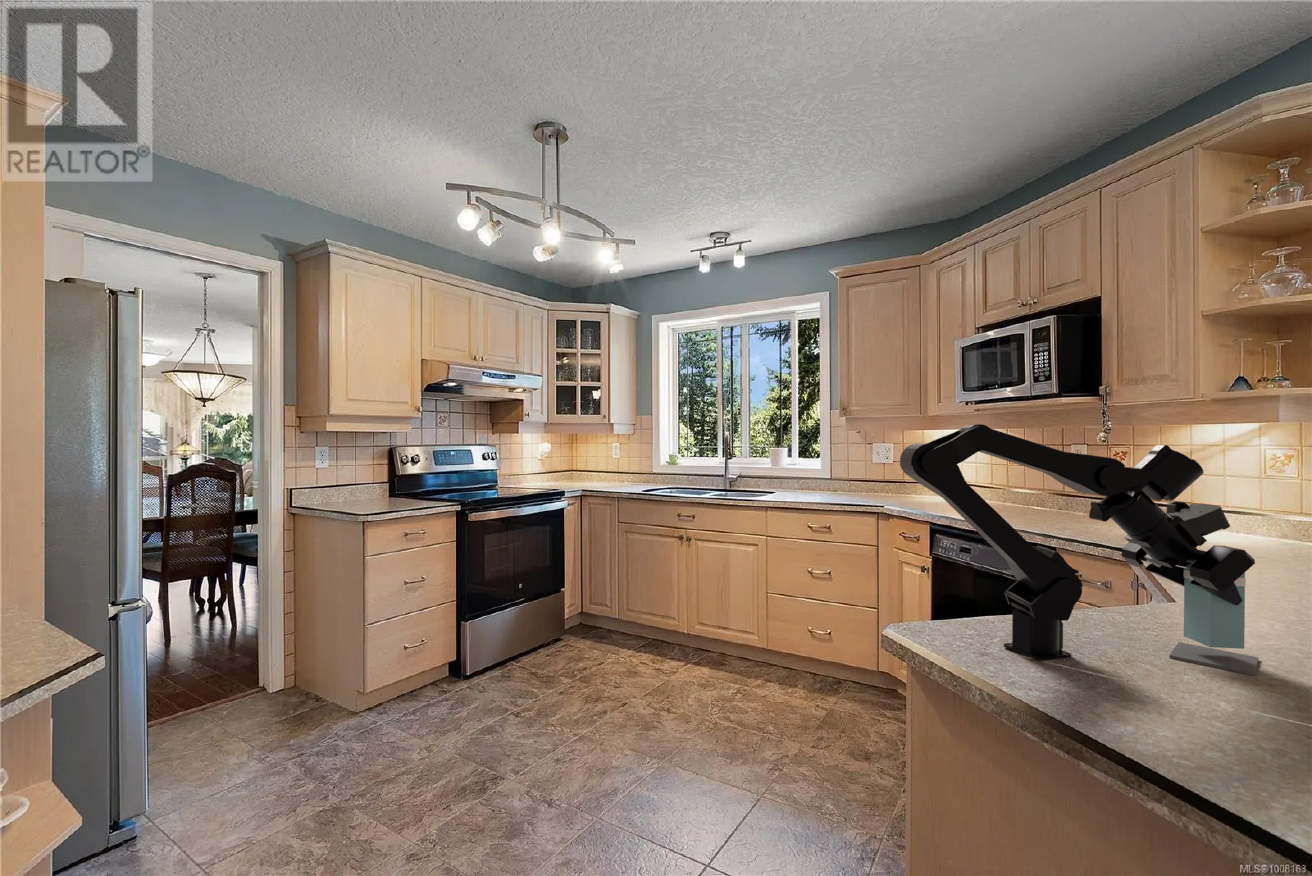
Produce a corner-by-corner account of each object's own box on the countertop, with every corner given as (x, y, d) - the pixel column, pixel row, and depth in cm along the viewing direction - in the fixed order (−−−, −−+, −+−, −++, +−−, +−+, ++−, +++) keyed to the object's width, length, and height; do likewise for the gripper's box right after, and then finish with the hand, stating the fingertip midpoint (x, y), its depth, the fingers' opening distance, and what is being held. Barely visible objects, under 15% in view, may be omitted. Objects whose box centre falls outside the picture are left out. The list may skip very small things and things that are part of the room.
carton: (1210, 647, 87) (1211, 566, 87) (1183, 636, 92) (1183, 559, 92) (1245, 648, 86) (1245, 567, 87) (1215, 637, 92) (1216, 560, 92)
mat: (1254, 675, 83) (1254, 672, 83) (1169, 657, 89) (1169, 655, 89) (1258, 660, 89) (1258, 657, 89) (1178, 644, 96) (1178, 642, 96)
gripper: (1240, 490, 80) (1330, 575, 79) (1141, 481, 99) (1213, 550, 98) (1176, 547, 81) (1264, 632, 80) (1090, 527, 100) (1161, 596, 99)
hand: (1223, 598), depth 89 cm, fingers closed on carton, 5 cm apart
